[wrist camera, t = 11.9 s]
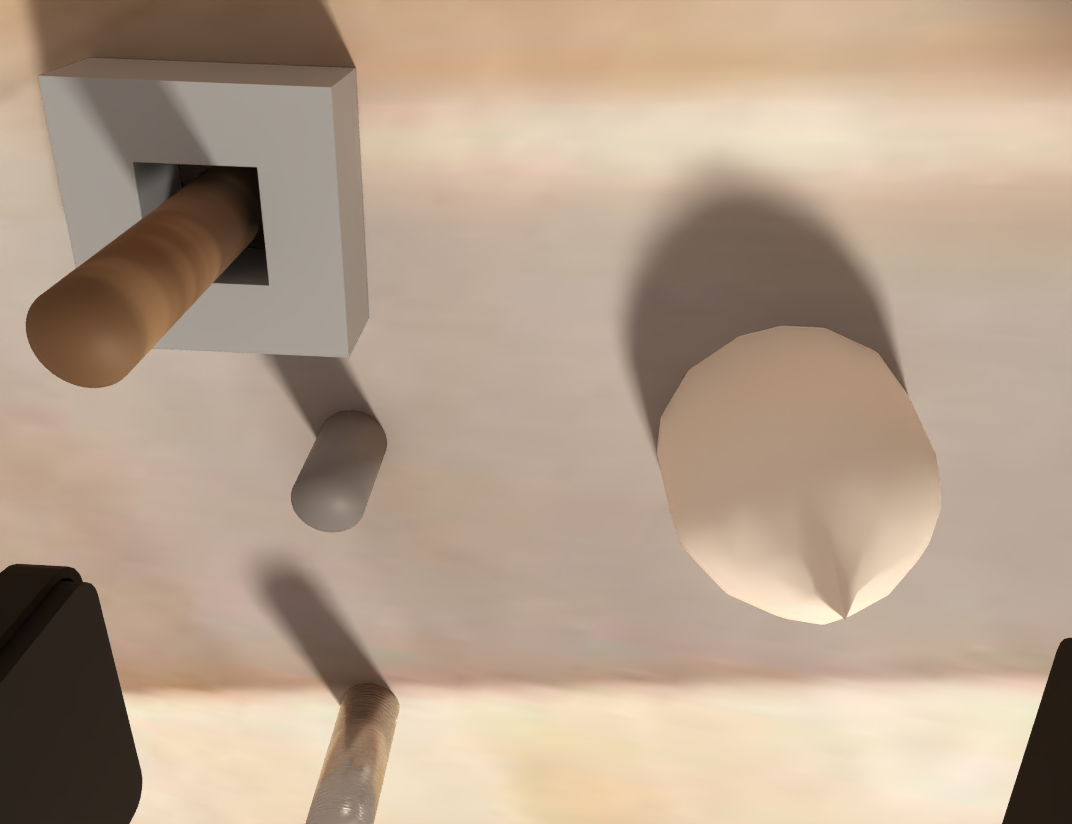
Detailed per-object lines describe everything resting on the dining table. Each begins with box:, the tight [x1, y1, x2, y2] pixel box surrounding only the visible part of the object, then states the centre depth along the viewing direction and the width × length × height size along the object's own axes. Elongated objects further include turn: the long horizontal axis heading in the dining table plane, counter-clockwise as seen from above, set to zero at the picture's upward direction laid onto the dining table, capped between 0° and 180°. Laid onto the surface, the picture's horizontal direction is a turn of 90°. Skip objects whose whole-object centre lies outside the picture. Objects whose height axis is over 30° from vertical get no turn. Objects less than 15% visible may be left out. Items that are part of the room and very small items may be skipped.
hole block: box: [38, 58, 369, 358], centre depth 38 cm, size 10×10×4 cm
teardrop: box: [657, 326, 942, 625], centre depth 38 cm, size 11×11×12 cm
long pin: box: [26, 165, 263, 388], centre depth 33 cm, size 3×3×14 cm
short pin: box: [291, 411, 387, 532], centre depth 42 cm, size 3×3×5 cm
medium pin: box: [306, 684, 399, 824], centre depth 48 cm, size 3×3×8 cm
